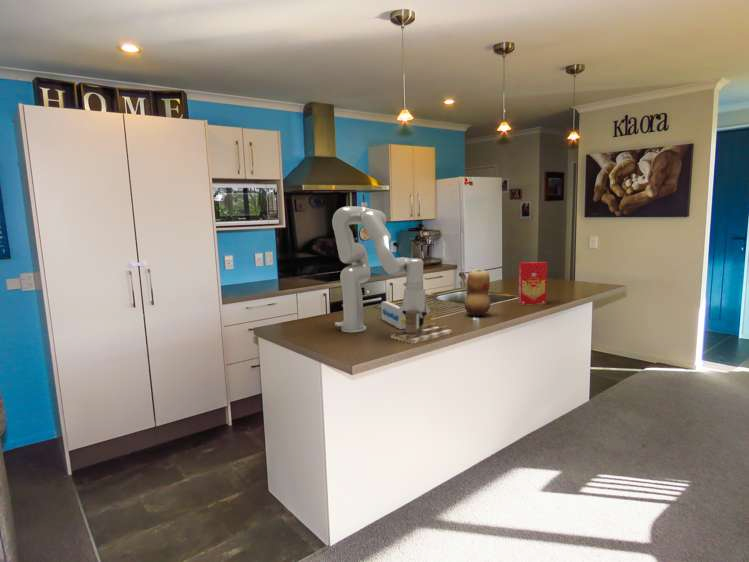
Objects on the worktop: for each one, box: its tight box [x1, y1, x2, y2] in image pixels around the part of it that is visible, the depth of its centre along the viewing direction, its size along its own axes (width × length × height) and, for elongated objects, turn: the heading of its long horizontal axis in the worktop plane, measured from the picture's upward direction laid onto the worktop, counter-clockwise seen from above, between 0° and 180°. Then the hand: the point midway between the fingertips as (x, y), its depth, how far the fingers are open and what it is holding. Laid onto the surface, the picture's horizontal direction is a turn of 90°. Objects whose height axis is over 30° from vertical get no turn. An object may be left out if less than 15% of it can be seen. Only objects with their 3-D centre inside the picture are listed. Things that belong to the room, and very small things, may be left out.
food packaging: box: [518, 261, 548, 304], centre depth 283 cm, size 15×5×25 cm, turn 88°
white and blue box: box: [381, 300, 406, 330], centre depth 242 cm, size 32×4×10 cm, turn 19°
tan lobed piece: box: [464, 268, 491, 317], centre depth 257 cm, size 14×13×25 cm
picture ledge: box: [390, 322, 454, 345], centre depth 220 cm, size 26×14×3 cm, turn 129°
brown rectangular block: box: [405, 310, 425, 333], centre depth 217 cm, size 14×5×9 cm, turn 159°
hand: (414, 325), depth 218 cm, fingers closed on brown rectangular block, 5 cm apart
